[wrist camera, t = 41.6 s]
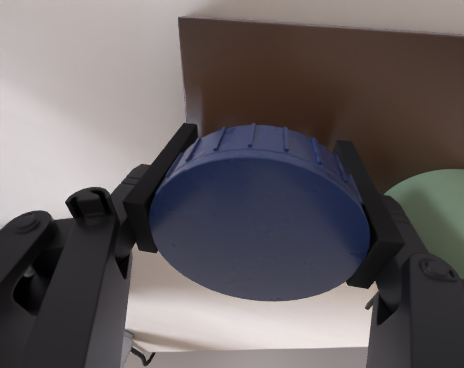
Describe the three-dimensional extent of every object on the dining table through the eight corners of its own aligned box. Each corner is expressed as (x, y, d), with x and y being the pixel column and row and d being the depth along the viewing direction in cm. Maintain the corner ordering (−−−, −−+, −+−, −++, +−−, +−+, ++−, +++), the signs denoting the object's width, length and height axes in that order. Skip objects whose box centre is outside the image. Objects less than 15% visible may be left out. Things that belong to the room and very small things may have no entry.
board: (443, 258, 20) (451, 270, 19) (198, 220, 22) (195, 230, 21) (667, 48, 10) (707, 52, 9) (184, 15, 12) (177, 16, 11)
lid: (229, 71, 7) (213, 93, 5) (401, 201, 9) (431, 248, 7) (144, 213, 11) (121, 249, 10) (269, 278, 13) (268, 318, 11)
